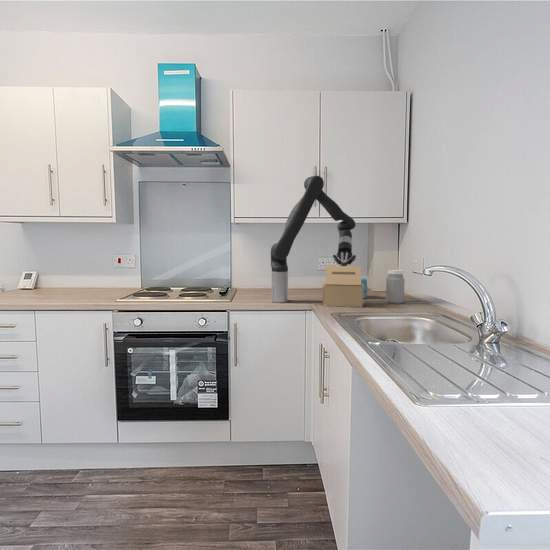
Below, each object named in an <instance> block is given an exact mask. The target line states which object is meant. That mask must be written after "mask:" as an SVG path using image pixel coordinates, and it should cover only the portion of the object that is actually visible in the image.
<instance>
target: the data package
mask: <svg viewBox="0 0 550 550" xmlns="http://www.w3.org/2000/svg"><path fill="white" fill-rule="evenodd" d="M361 283H363V284H364V299H366V298H367V297H368V295H367V294H368V279H367V278H365V277H361ZM362 299H363V295H362Z"/></svg>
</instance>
